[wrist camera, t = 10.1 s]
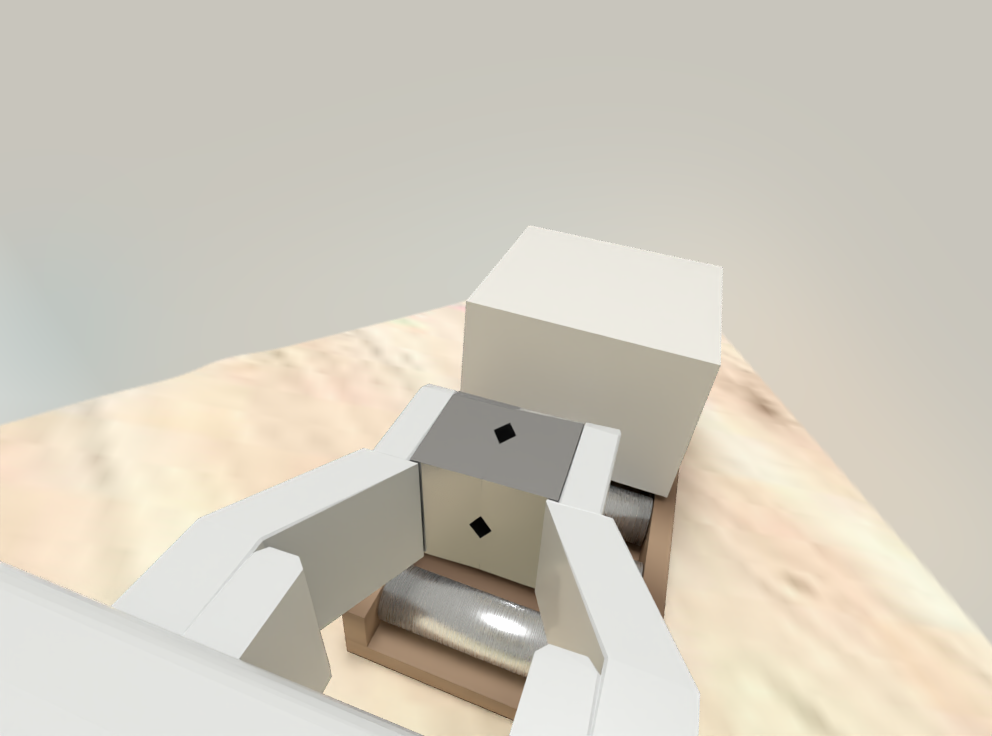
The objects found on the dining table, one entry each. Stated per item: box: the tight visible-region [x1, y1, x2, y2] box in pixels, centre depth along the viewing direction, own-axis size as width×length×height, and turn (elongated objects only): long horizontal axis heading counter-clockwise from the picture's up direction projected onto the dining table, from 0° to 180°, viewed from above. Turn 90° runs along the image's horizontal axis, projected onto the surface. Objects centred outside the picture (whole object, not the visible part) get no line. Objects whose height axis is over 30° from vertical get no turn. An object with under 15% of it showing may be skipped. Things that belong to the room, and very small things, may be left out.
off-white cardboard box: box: [460, 225, 723, 497], centre depth 30 cm, size 10×11×8 cm
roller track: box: [342, 469, 679, 720], centre depth 29 cm, size 22×12×7 cm, turn 161°
